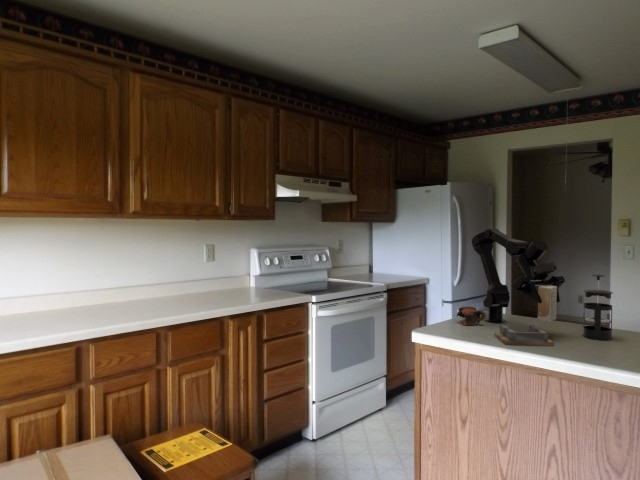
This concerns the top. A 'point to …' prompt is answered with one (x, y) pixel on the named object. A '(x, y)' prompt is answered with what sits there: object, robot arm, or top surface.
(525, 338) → the rail holder
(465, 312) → the pottery mug
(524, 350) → the top surface
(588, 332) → the french press
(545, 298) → the skincare box
